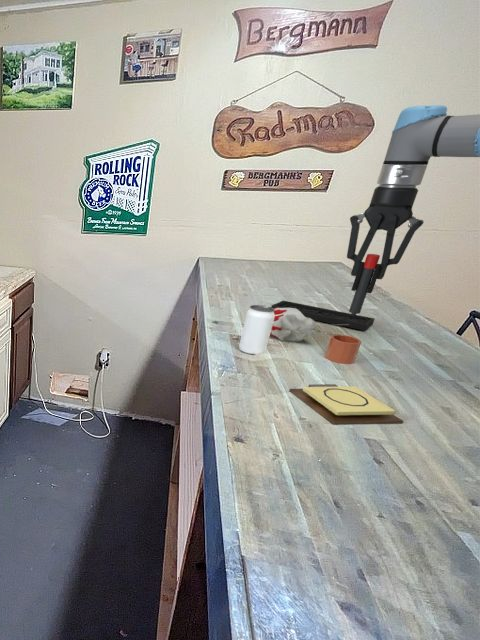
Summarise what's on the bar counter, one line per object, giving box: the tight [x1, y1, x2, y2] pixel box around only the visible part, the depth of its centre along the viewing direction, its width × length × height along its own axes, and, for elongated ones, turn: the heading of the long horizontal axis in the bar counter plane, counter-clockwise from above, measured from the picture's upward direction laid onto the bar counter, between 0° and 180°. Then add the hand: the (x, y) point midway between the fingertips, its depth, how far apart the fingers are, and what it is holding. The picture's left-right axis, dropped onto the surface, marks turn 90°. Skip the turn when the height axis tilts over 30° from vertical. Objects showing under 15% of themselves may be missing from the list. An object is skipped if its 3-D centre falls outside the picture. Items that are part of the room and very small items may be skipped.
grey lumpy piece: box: [270, 307, 317, 343], centre depth 131 cm, size 9×11×15 cm
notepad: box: [302, 385, 396, 415], centre depth 94 cm, size 11×12×1 cm
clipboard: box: [289, 383, 404, 425], centre depth 95 cm, size 14×14×2 cm
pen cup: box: [324, 334, 362, 365], centre depth 116 cm, size 6×6×6 cm
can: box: [238, 304, 275, 356], centre depth 120 cm, size 6×6×12 cm
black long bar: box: [270, 300, 375, 331], centre depth 146 cm, size 26×3×30 cm
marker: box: [348, 253, 381, 315], centre depth 109 cm, size 2×2×14 cm
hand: (361, 290), depth 110 cm, fingers closed on marker, 2 cm apart
